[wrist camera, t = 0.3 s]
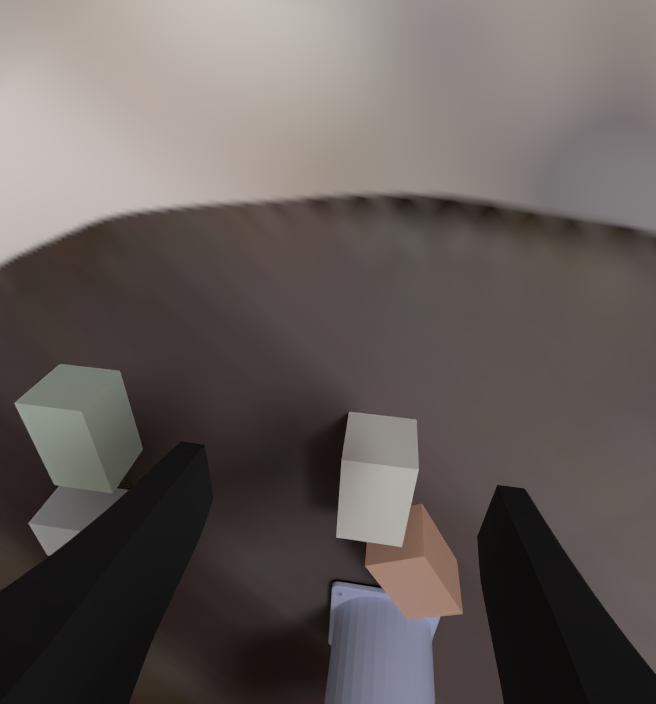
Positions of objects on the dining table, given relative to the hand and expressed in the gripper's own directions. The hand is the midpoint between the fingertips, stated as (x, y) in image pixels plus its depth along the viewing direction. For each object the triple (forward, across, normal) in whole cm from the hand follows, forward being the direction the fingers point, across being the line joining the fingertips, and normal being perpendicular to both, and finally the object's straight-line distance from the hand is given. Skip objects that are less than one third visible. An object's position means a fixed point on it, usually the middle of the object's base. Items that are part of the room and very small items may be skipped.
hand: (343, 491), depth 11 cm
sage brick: (+10, +15, +8) cm, 20 cm away
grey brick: (+10, +17, +17) cm, 26 cm away
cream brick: (+10, -1, +9) cm, 14 cm away
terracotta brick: (+10, -4, +16) cm, 20 cm away
